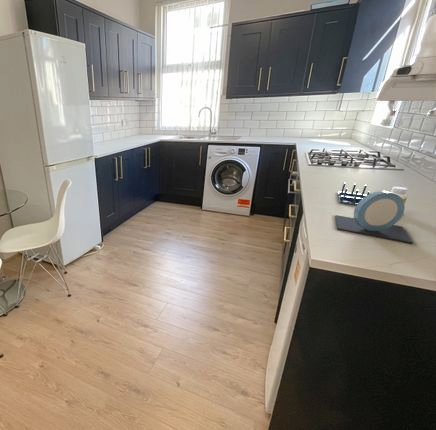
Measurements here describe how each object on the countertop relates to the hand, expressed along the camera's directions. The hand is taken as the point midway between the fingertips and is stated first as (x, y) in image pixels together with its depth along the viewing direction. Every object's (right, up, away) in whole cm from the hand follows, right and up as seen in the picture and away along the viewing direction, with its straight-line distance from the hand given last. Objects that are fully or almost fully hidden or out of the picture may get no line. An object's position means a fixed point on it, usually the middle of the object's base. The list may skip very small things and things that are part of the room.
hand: (410, 115), depth 92 cm
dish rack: (+5, -27, +28) cm, 39 cm away
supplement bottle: (+8, -32, +15) cm, 36 cm away
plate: (-18, -37, -1) cm, 41 cm away
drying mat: (-13, -37, +1) cm, 40 cm away
